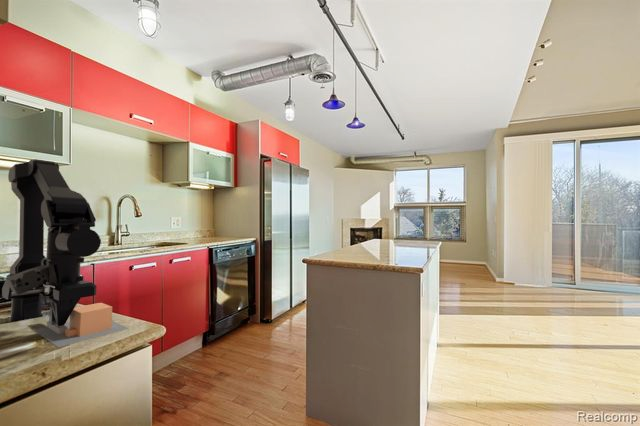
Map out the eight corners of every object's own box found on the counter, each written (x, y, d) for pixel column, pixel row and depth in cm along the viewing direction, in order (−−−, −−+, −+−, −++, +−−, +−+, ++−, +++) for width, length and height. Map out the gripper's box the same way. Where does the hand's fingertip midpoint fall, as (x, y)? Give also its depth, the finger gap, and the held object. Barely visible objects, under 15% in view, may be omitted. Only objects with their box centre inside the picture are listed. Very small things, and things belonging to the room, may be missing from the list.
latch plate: (32, 334, 68) (33, 324, 68) (99, 319, 79) (99, 310, 79) (57, 352, 59) (58, 341, 59) (129, 332, 70) (129, 323, 70)
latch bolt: (36, 318, 71) (37, 300, 71) (50, 315, 73) (51, 298, 73) (51, 327, 65) (52, 308, 65) (65, 324, 67) (66, 306, 67)
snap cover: (60, 332, 66) (62, 309, 67) (100, 323, 73) (101, 302, 73) (71, 338, 63) (72, 314, 63) (111, 328, 69) (112, 306, 69)
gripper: (0, 252, 64) (-4, 326, 63) (26, 260, 54) (22, 348, 53) (66, 249, 73) (63, 313, 73) (99, 255, 63) (95, 330, 62)
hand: (60, 325), depth 65 cm, fingers closed
